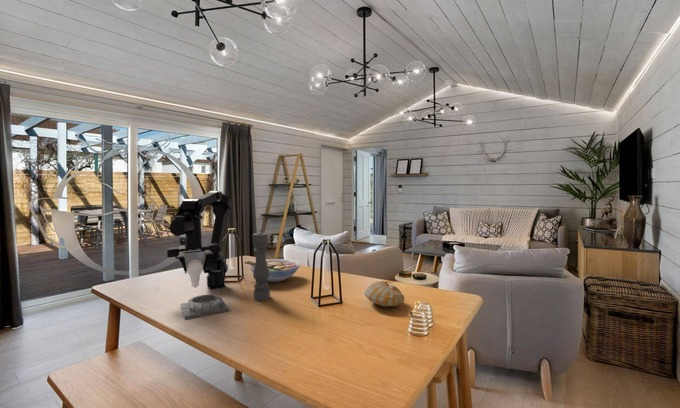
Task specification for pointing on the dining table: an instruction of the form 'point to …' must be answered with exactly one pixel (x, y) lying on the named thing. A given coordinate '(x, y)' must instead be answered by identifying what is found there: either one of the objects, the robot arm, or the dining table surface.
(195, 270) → the lightbulb
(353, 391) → the dining table surface
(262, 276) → the candle holder
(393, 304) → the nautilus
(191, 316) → the bulb socket
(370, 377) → the dining table surface
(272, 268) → the ramen bowl
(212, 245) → the robot arm
